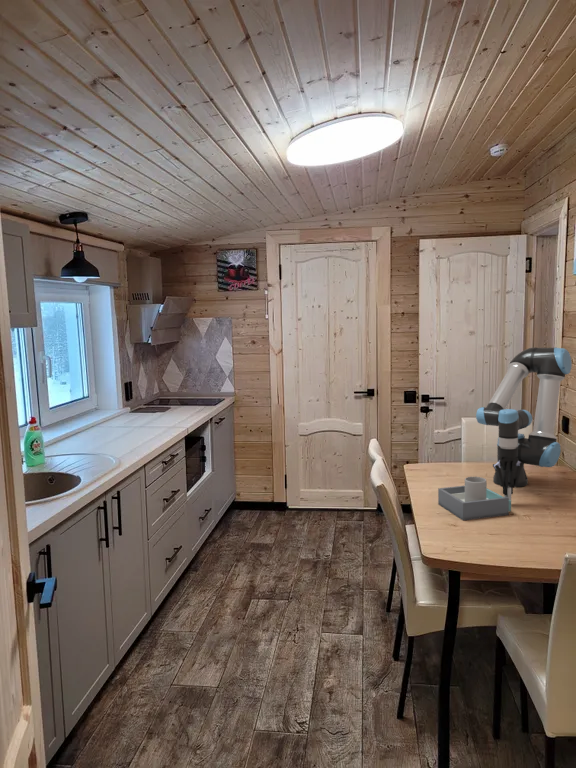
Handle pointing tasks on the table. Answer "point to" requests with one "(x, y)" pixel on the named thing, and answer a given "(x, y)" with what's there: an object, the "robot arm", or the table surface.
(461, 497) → the tray
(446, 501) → the dock
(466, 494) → the mug
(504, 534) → the table surface
